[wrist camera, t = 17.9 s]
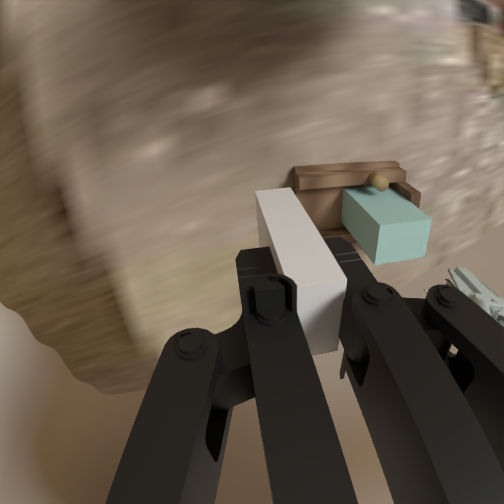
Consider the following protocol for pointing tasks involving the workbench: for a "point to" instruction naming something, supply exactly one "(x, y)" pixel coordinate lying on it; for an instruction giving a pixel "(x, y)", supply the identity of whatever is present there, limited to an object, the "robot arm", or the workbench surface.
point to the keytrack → (331, 190)
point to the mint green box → (385, 224)
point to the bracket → (477, 292)
